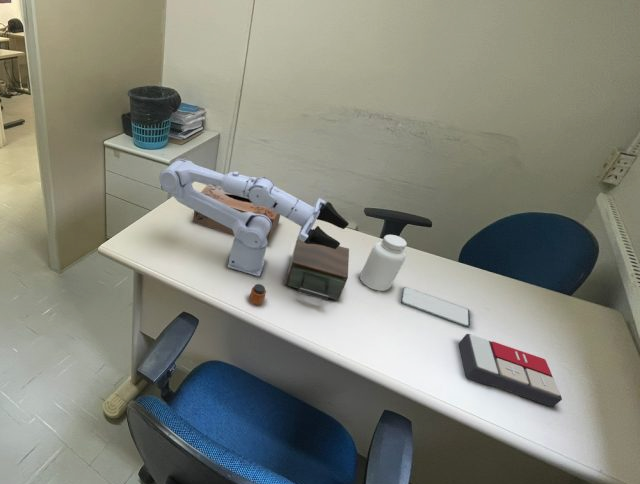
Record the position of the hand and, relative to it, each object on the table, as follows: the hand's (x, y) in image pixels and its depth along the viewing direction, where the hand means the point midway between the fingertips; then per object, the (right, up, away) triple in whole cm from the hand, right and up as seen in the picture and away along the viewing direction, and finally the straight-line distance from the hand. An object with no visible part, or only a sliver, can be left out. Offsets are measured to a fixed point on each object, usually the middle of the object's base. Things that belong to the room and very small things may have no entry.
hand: (342, 236), depth 99 cm
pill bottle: (+17, -14, +14) cm, 26 cm away
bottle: (-20, -18, +7) cm, 27 cm away
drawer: (-2, -14, +11) cm, 18 cm away
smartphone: (+27, -19, +6) cm, 34 cm away
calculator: (+30, -31, -11) cm, 44 cm away
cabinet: (0, -12, +15) cm, 19 cm away
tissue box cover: (-17, +3, +38) cm, 42 cm away
